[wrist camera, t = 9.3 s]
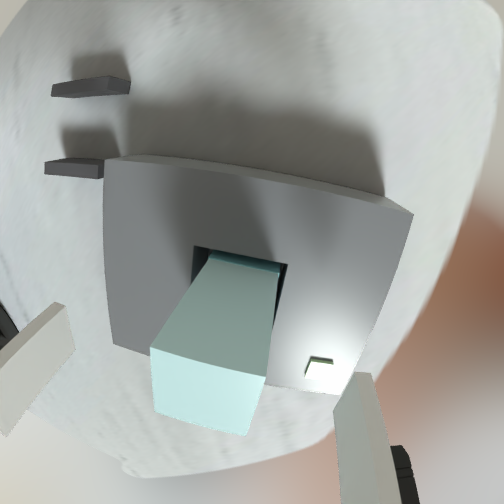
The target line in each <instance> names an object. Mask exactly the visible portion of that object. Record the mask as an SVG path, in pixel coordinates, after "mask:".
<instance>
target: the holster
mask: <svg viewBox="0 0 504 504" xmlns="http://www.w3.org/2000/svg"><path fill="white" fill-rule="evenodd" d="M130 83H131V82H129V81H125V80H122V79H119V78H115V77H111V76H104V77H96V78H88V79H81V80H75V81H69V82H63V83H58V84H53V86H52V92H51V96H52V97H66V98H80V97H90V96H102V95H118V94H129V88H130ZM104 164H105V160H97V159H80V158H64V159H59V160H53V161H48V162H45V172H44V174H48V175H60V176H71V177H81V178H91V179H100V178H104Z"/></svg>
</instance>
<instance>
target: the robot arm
mask: <svg viewBox="0 0 504 504" xmlns="http://www.w3.org/2000/svg"><path fill="white" fill-rule="evenodd" d="M75 350H76V349H75V345H74V341H73V337H72V333H71V329H70V324H69V320H68V315H67V310H66V306H64V305H62V304H59V303H57V302H54V303H53V304H51V305H50V306H49V307H48V308H47V309H45V310H44V311H43V312H42V313H41V314H40V315H39V316H37V317H36V318H35V319H34V320H33V321H32V322H31V323H29V324H28V325H27V326H26V327H25V328H24V329H23V330H22V331H21V332H19V333H18V331H17V330H16V328H15V326H14V325H13V323H12V321H11V320H10V318H9V317H8V315H7V314H6V313H5V311H4V310H3V309H2V307H1V306H0V433H1V434H2V435H3V436H5V437H7V436H8V435H9V433H10V432H11V430H12V429H13V428H14V426H15V425H16V423H17V422H18V421H19V419H20V418H21V417H22V415H23V414H24V412H25V411H26V410H27V409H28V408H29V406H30V405H31V404H32V402H33V401H34V400H35V399H36V397H37V396H38V395H39V393H40V392H41V391H42V390H43V388H44V387H45V386H46V385H47V383H48V382H49V381H50V380H51V379H52V377H53V376H54V375H55V374H56V372H57V371H58V370H59V369H60V368H61V366H62V365H63V364H64V363H65V362H66V361H67V359H68V358H69V357H70V356H71V355H72V353H73V352H74V351H75ZM333 416H334V425H335V435H336V444H337V455H338V467H339V478H340V479H339V480H340V494H341V504H420V502H419V497H418V492H417V488H416V483H415V479H414V477H413V470H412V469H411V462H410V458H409V455H408V454H407V452H406V451H405V449H404V448H403V446H402V445H398V446H390V444H389V440H388V435H387V431H386V427H385V423H384V420H383V415H382V412H381V408H380V404H379V401H378V397H377V393H376V390H375V386H374V383H373V379H372V376H371V373H364V372H354V374H353V376H352V378H351V380H350V382H349V383H348V385H347V387H346V389H345V391H344V393H343V394H342V396H341V398H340V400H339V401H338V403H337V405H336V407H335V408H334V410H333Z"/></svg>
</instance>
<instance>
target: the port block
mask: <svg viewBox="0 0 504 504" xmlns="http://www.w3.org/2000/svg"><path fill="white" fill-rule="evenodd" d="M413 216H414V214H412V213H411V212H409V211H408V210H406V209H405V208H403V207H401V206H400V205H398V204H397V203H395V202H393V201H392V200H390V199H388V198H386V197H383V196H379V195H375V194H372V193H368V192H364V191H360V190H356V189H352V188H348V187H344V186H339V185H335V184H331V183H326V182H322V181H317V180H313V179H308V178H303V177H298V176H293V175H288V174H283V173H278V172H273V171H267V170H261V169H256V168H250V167H244V166H237V165H231V164H224V163H217V162H210V161H203V160H195V159H187V158H178V157H169V156H159V155H148V154H139V155H131V156H124V157H117V158H110V159H105V164H104V183H103V247H104V266H105V279H106V291H107V301H108V309H109V317H110V325H111V332H112V338H113V344H116V345H118V346H121V347H124V348H127V349H130V350H133V351H136V352H139V353H142V354H145V355H148V356H150V346H151V344H152V343H153V341H154V340H155V338H156V337H157V335H158V333H159V332H160V330H161V329H162V327H163V326H164V324H165V323H166V321H167V320H168V318H169V317H170V315H171V314H172V312H173V311H174V309H175V308H176V306H177V305H178V303H179V302H180V300H181V299H182V297H183V296H184V294H185V293H186V291H187V290H188V288H189V287H190V285H191V284H192V283H193V281H194V280H195V278H196V277H197V275H198V274H199V272H200V271H201V269H202V268H203V266H204V265H205V264H206V262H207V261H208V257H209V256H210V254H211V253H212V252H213V250H214V249H215V250H220V251H225V252H230V253H235V254H240V255H245V256H250V257H255V258H260V259H265V260H270V261H275V262H280V273H279V277H278V283H277V292H276V301H275V309H274V318H273V326H272V335H271V343H270V351H269V359H268V366H267V374H266V379H265V382H264V385H270V386H276V387H282V388H288V389H295V390H302V391H310V392H318V393H327V394H336V395H340V394H341V392H342V390H343V389H344V387H345V385H346V383H347V381H348V379H349V377H350V375H351V374H352V372H353V370H354V368H355V366H356V364H357V362H358V360H359V358H360V356H361V354H362V351H363V349H364V347H365V345H366V343H367V341H368V339H369V336H370V334H371V332H372V330H373V328H374V325H375V323H376V321H377V318H378V316H379V314H380V311H381V309H382V306H383V304H384V301H385V299H386V296H387V294H388V291H389V289H390V286H391V283H392V281H393V278H394V275H395V272H396V270H397V267H398V264H399V261H400V258H401V255H402V252H403V249H404V246H405V243H406V239H407V236H408V233H409V230H410V226H411V223H412V219H413Z"/></svg>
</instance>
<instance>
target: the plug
mask: <svg viewBox="0 0 504 504" xmlns="http://www.w3.org/2000/svg"><path fill="white" fill-rule="evenodd" d="M279 273H280V262H275V261H270V260H265V259H260V258H255V257H250V256H245V255H240V254H235V253H230V252H225V251H220V250H215V249H214V250H213V252H212V253H211V254H210V256H209V257H208V261H207V262H206V264H205V265H204V266H203V268H202V269H201V271H200V272H199V274H198V275H197V277H196V278H195V280H194V281H193V283H192V284H191V285H190V287H189V288H188V290H187V291H186V293H185V294H184V296H183V297H182V299H181V300H180V302H179V303H178V305H177V306H176V308H175V309H174V311H173V312H172V314H171V315H170V317H169V318H168V320H167V321H166V323H165V324H164V326H163V327H162V329H161V330H160V332H159V333H158V335H157V337H156V338H155V340H154V341H153V343H152V344H151V346H150V360H151V376H152V388H153V399H154V409H155V412H157V413H160V414H163V415H166V416H169V417H172V418H175V419H178V420H182V421H185V422H188V423H192V424H196V425H199V426H203V427H207V428H211V429H215V430H219V431H223V432H227V433H232V434H237V435H241V436H246V435H247V432H248V429H249V426H250V423H251V420H252V418H253V415H254V412H255V409H256V406H257V403H258V400H259V397H260V394H261V391H262V388H263V385H264V382H265V379H266V374H267V366H268V359H269V351H270V343H271V335H272V326H273V318H274V309H275V301H276V292H277V283H278V277H279Z"/></svg>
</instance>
